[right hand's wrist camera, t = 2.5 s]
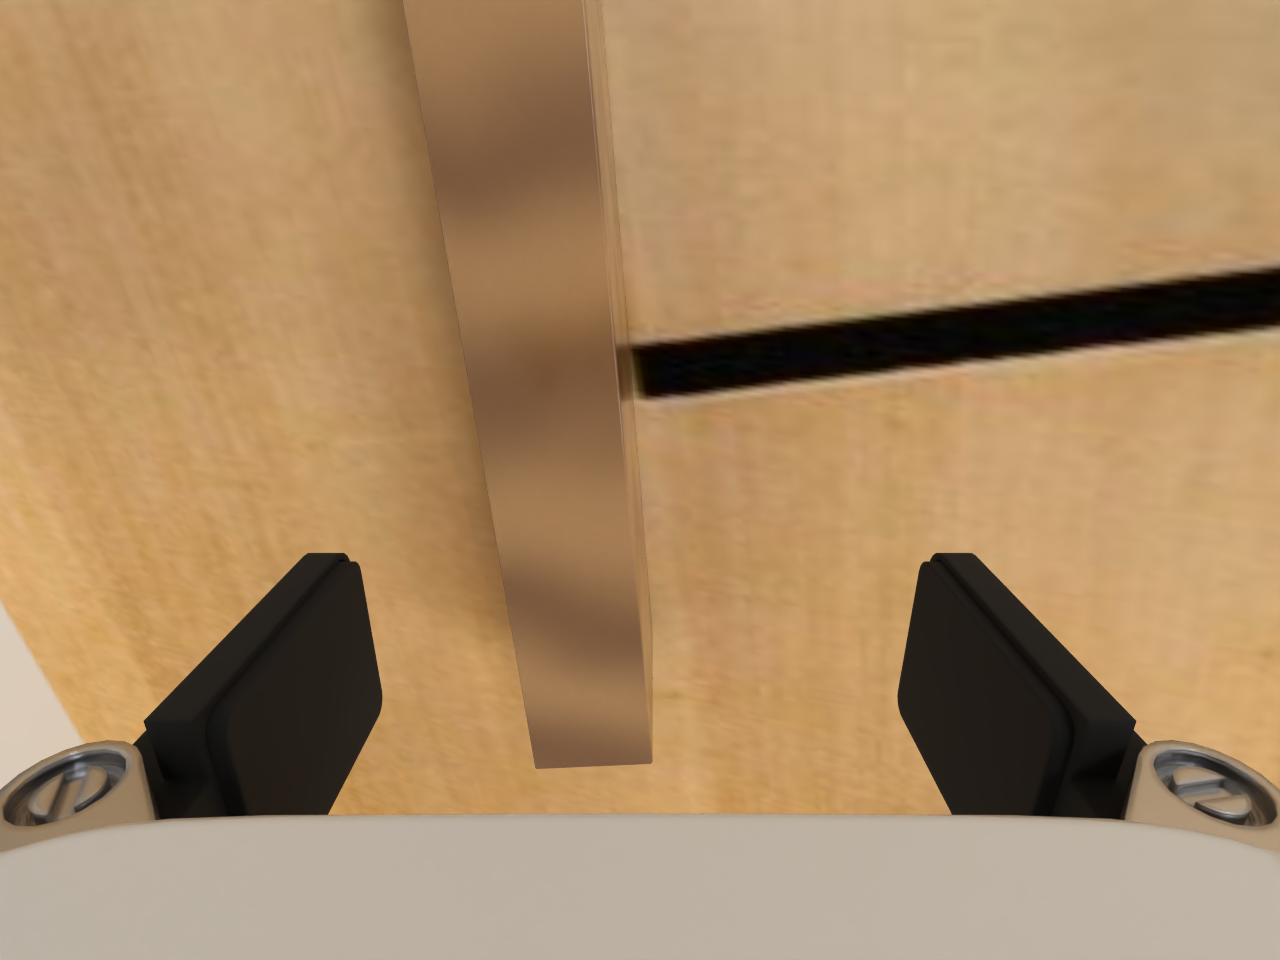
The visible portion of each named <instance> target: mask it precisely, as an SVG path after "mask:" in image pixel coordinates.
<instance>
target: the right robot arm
mask: <svg viewBox="0 0 1280 960" xmlns="http://www.w3.org/2000/svg"><path fill="white" fill-rule="evenodd" d="M381 706H382V689H381V683H380V677H379V672H378V666H377V660H376V654H375V649H374V643H373V637H372V632H371V626H370V620H369V614H368V609H367V603H366V597H365V592H364V586H363V580H362V574H361V570H360V566H359V564H358V563H357V562H350V560H349V558H348V556H347V555H346V554H344V553H308V554H306V555H305V556H303V558H302V559H301V560H300V561H299V562H298V563H297V564H296V565H295V566H294V567H293V568H292V569H291V570H290V571H289V572H288V573H287V574H286V575H285V576H284V577H283V578H282V579H281V580H280V581H279V582H278V583H277V584H276V585H275V586H274V587H273V588H272V589H271V590H270V592H269V593H268V594H267V595H266V596H265V597H264V598H263V599H262V600H261V601H260V602H259V603H258V604H257V605H256V606H255V607H254V608H253V609H252V610H251V611H250V612H249V613H248V614H247V615H246V616H245V617H244V618H243V619H242V620H241V621H240V622H239V623H238V624H237V625H236V627H235V628H234V629H233V630H232V631H231V632H230V633H229V634H228V635H227V636H226V637H225V638H224V639H223V640H222V641H221V642H220V643H219V644H218V645H217V646H216V647H215V648H214V649H213V650H212V651H211V652H210V653H209V654H208V655H207V656H206V657H205V658H204V659H203V661H202V662H201V663H200V664H199V665H198V666H197V667H196V668H195V669H194V670H193V671H192V672H191V673H190V674H189V675H188V676H187V677H186V678H185V679H184V680H183V681H182V682H181V683H180V684H179V685H178V686H177V687H176V688H175V689H174V690H173V691H172V692H171V693H170V694H169V696H168V697H167V698H166V699H165V700H164V701H163V702H162V703H161V704H160V705H159V706H158V707H157V708H156V709H155V710H154V711H153V712H152V713H151V714H150V715H149V716H148V717H147V718H146V719H145V720H144V724H145V727H146V731H145V732H144V733H143V734H142V735H141V736H140V737H139V738H138V740H137V741H136V742H135V743H134V744H133V745H132V744H129V743H127V742H125V741H112V740H106V741H99V742H92V743H86V744H83V745H80V746H76V747H73V748H70V749H67V750H64V751H61V752H59V753H57V754H55V755H53V756H50V757H48V758H46V759H44V760H41V761H40V762H38V763H36V764H35V765H33V766H31V767H30V768H28V769H27V770H25V771H23V772H22V773H20V774H19V775H17V776H16V777H15V778H14V779H13V780H11V781H10V782H9V783H8V784H7V785H5V786H4V787H3V788H2V789H1V790H0V960H1280V790H1279V789H1278V788H1277V787H1276V786H1275V785H1273V784H1272V783H1271V782H1270V781H1269V780H1267V779H1266V778H1265V777H1264V776H1263V775H1261V774H1260V773H1258V772H1257V771H1255V770H1253V769H1252V768H1250V767H1249V766H1247V765H1245V764H1244V763H1242V762H1240V761H1239V760H1236V759H1234V758H1232V757H1230V756H1227V755H1225V754H1223V753H1221V752H1219V751H1216V750H1213V749H1210V748H1207V747H1204V746H1200V745H1197V744H1194V743H1188V742H1181V741H1174V740H1168V741H1155V742H1153V743H1151V744H1148V745H1147V744H1146V743H1145V742H1144V741H1143V740H1142V738H1141V737H1140V736H1139V735H1138V734H1137V733H1136V732H1135V731H1134V727H1135V724H1136V720H1135V719H1134V718H1133V717H1132V716H1131V715H1130V714H1129V713H1128V712H1127V711H1126V710H1125V709H1124V708H1123V707H1122V706H1121V705H1120V704H1119V703H1118V702H1117V701H1116V700H1115V699H1114V698H1113V697H1112V696H1111V694H1110V693H1109V692H1108V691H1107V690H1106V689H1105V688H1104V687H1103V686H1102V685H1101V684H1100V683H1099V682H1098V681H1097V680H1096V679H1095V678H1094V677H1093V676H1092V675H1091V674H1090V673H1089V672H1088V671H1087V670H1086V669H1085V668H1084V667H1083V666H1082V665H1081V664H1080V663H1079V662H1078V661H1077V659H1076V658H1075V657H1074V656H1073V655H1072V654H1071V653H1070V652H1069V651H1068V650H1067V649H1066V648H1065V647H1064V646H1063V645H1062V644H1061V643H1060V642H1059V641H1058V640H1057V639H1056V638H1055V637H1054V636H1053V635H1052V634H1051V633H1050V632H1049V631H1048V630H1047V629H1046V628H1045V627H1044V625H1043V624H1042V623H1041V622H1040V621H1039V620H1038V619H1037V618H1036V617H1035V616H1034V615H1033V614H1032V613H1031V612H1030V611H1029V610H1028V609H1027V608H1026V607H1025V606H1024V605H1023V604H1022V603H1021V602H1020V601H1019V600H1018V599H1017V598H1016V597H1015V596H1014V595H1013V594H1012V593H1011V592H1010V590H1009V589H1008V588H1007V587H1006V586H1005V585H1004V584H1003V583H1002V582H1001V581H1000V580H999V579H998V578H997V577H996V576H995V575H994V574H993V573H992V572H991V571H990V570H989V569H988V568H987V567H986V566H985V565H984V564H983V563H982V562H981V561H980V560H979V559H978V558H977V556H975V555H974V554H972V553H936V554H934V555H933V556H932V558H931V560H930V562H923V563H922V564H921V566H920V570H919V574H918V580H917V586H916V592H915V597H914V603H913V609H912V614H911V620H910V626H909V632H908V637H907V643H906V649H905V654H904V660H903V666H902V672H901V677H900V683H899V689H898V706H899V711H900V714H901V716H902V718H903V720H904V722H905V724H906V726H907V728H908V730H909V732H910V734H911V736H912V738H913V740H914V742H915V744H916V746H917V747H918V749H919V751H920V753H921V755H922V757H923V759H924V761H925V763H926V765H927V767H928V769H929V771H930V773H931V775H932V777H933V778H934V780H935V782H936V784H937V786H938V788H939V790H940V792H941V794H942V796H943V798H944V800H945V802H946V804H947V806H948V807H949V809H950V811H951V813H952V815H893V814H403V815H328V813H329V811H330V809H331V807H332V806H333V804H334V802H335V800H336V798H337V796H338V794H339V792H340V790H341V788H342V786H343V784H344V782H345V780H346V778H347V777H348V775H349V773H350V771H351V769H352V767H353V765H354V763H355V761H356V759H357V757H358V755H359V753H360V751H361V749H362V747H363V746H364V744H365V742H366V740H367V738H368V736H369V734H370V732H371V730H372V728H373V726H374V724H375V722H376V720H377V718H378V716H379V714H380V711H381Z"/></svg>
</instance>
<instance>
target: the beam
mask: <svg viewBox="0 0 1280 960" xmlns="http://www.w3.org/2000/svg"><path fill="white" fill-rule="evenodd" d="M402 1H403V7H404V13H405V19H406V24H407V30H408V36H409V42H410V47H411V53H412V59H413V65H414V70H415V76H416V82H417V88H418V94H419V99H420V105H421V111H422V117H423V122H424V128H425V134H426V140H427V145H428V151H429V157H430V163H431V169H432V174H433V180H434V186H435V192H436V197H437V203H438V209H439V215H440V220H441V226H442V232H443V238H444V243H445V249H446V255H447V261H448V267H449V272H450V278H451V284H452V290H453V295H454V301H455V307H456V313H457V318H458V324H459V330H460V336H461V342H462V347H463V353H464V359H465V365H466V370H467V376H468V382H469V388H470V393H471V399H472V405H473V411H474V417H475V422H476V428H477V434H478V440H479V445H480V451H481V457H482V463H483V468H484V474H485V480H486V486H487V492H488V497H489V503H490V509H491V515H492V520H493V526H494V532H495V538H496V543H497V549H498V555H499V561H500V567H501V572H502V578H503V584H504V590H505V595H506V601H507V607H508V613H509V618H510V624H511V630H512V636H513V642H514V647H515V653H516V659H517V665H518V670H519V676H520V682H521V688H522V693H523V699H524V705H525V711H526V717H527V722H528V728H529V734H530V740H531V745H532V751H533V757H534V763H535V768H536V769H545V768H567V767H589V766H612V765H634V764H651V763H652V622H651V610H650V598H649V585H648V573H647V560H646V548H645V536H644V523H643V511H642V498H641V486H640V474H639V461H638V449H637V437H636V424H635V412H634V399H633V387H632V375H631V362H630V350H629V338H628V325H627V313H626V300H625V288H624V276H623V263H622V251H621V239H620V226H619V214H618V201H617V189H616V177H615V164H614V152H613V140H612V127H611V115H610V102H609V90H608V78H607V65H606V53H605V41H604V28H603V16H602V3H601V0H402Z"/></svg>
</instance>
